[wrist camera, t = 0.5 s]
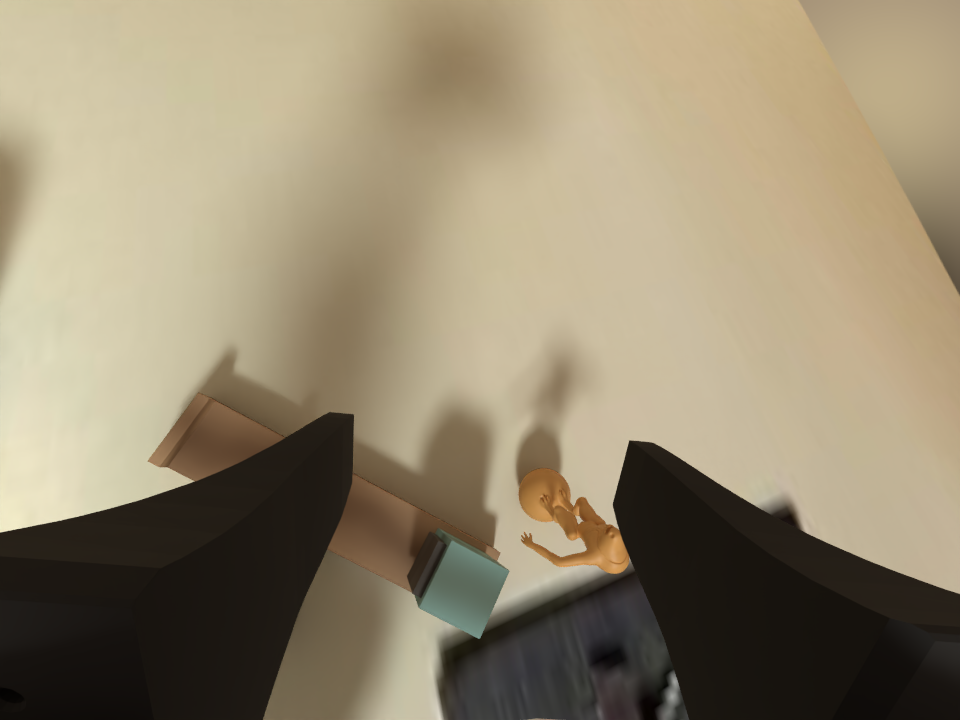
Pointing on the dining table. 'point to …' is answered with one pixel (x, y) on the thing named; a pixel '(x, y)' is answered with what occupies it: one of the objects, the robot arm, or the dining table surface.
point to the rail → (357, 520)
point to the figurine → (571, 523)
